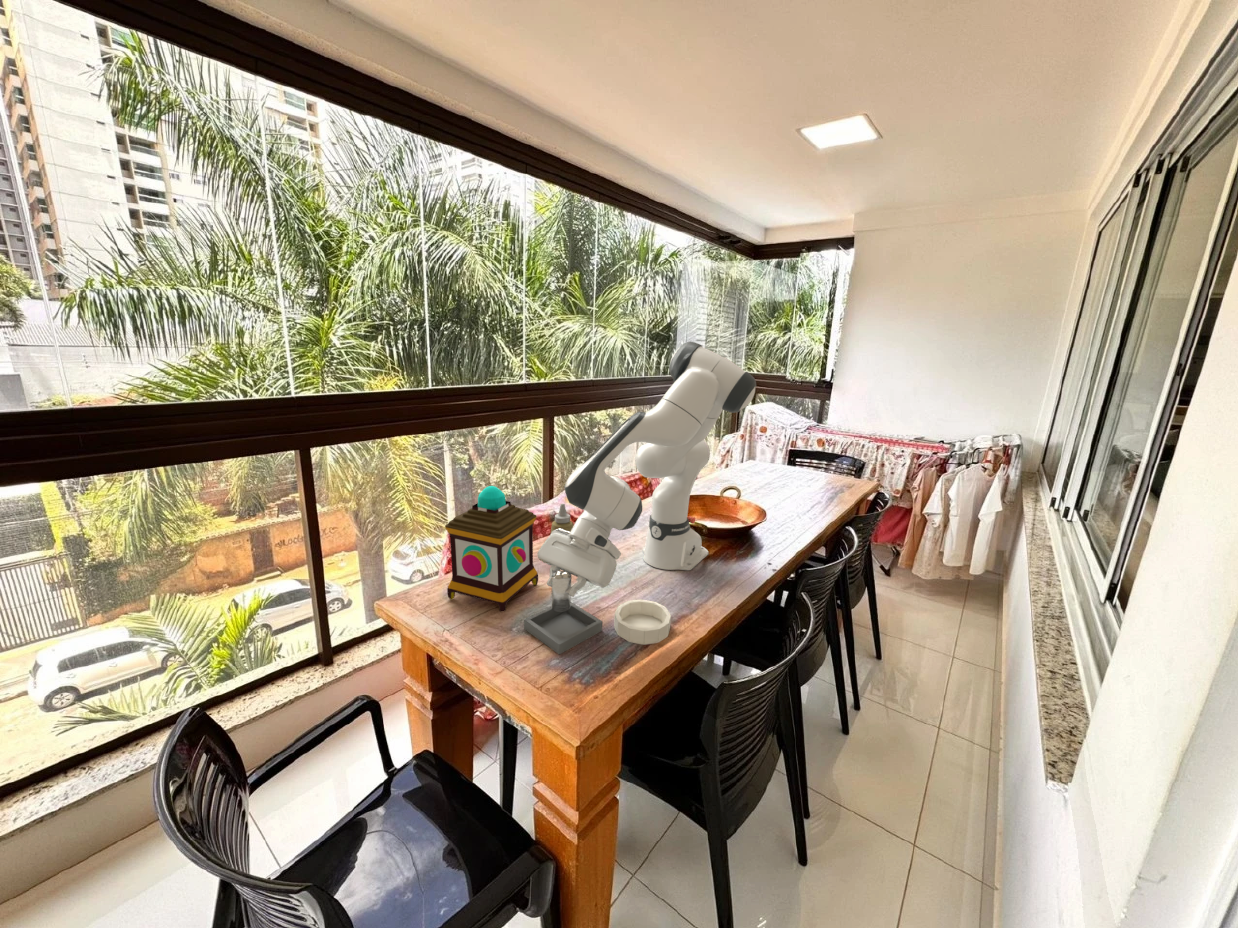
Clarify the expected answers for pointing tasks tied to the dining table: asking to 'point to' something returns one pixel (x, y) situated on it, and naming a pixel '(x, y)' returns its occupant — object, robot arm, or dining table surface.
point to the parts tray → (563, 627)
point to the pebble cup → (560, 591)
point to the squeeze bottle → (562, 520)
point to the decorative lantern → (492, 549)
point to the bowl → (642, 621)
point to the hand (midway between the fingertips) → (559, 590)
